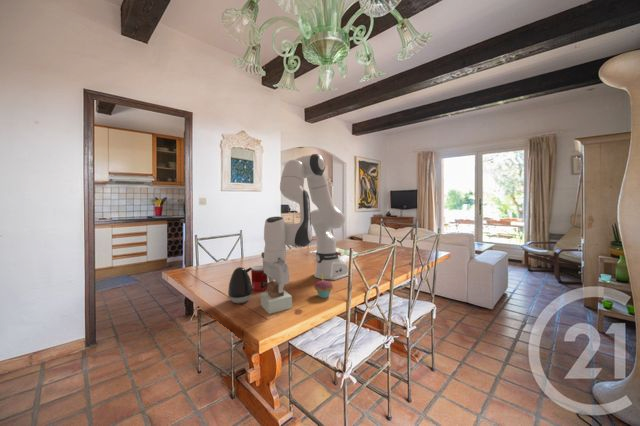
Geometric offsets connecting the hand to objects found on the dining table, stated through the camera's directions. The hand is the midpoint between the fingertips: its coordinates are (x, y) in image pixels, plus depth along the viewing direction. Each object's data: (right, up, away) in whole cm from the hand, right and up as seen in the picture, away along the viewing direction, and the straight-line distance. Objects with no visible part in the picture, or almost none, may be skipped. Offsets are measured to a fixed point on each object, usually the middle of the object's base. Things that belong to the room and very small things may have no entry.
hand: (275, 288), depth 106 cm
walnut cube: (0, -3, 0) cm, 3 cm away
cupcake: (+20, -7, +12) cm, 24 cm away
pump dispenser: (-17, -8, +6) cm, 19 cm away
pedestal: (0, -8, 0) cm, 8 cm away
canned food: (-12, -7, +21) cm, 25 cm away
